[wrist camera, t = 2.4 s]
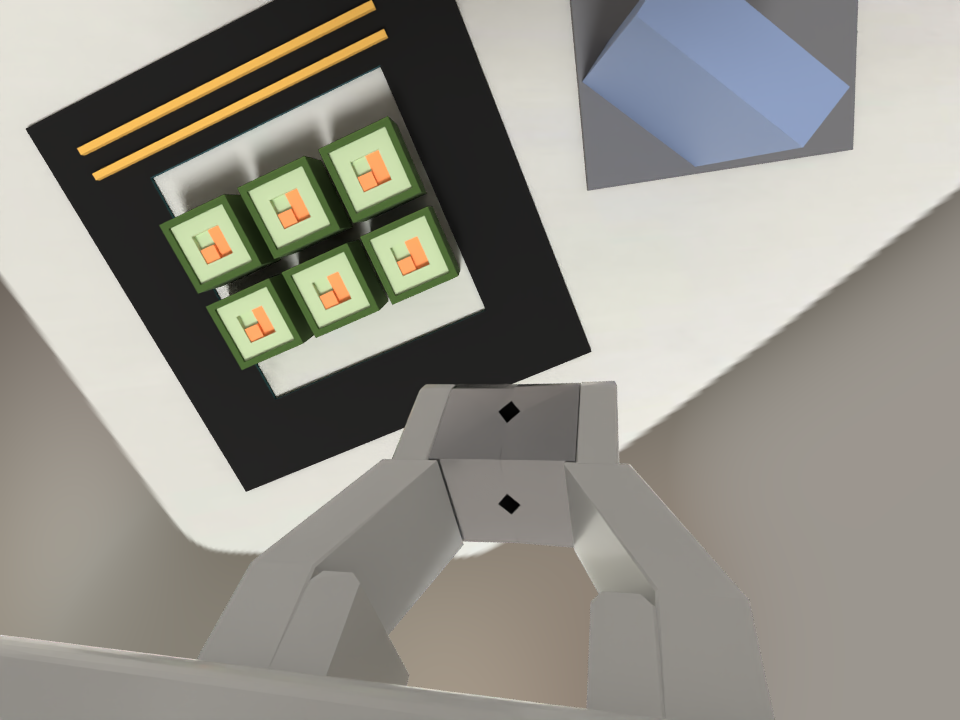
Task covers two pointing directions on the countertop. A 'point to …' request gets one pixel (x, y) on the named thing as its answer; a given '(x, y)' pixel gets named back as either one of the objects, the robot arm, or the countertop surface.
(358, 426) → the sushi
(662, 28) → the card deck
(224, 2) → the countertop surface
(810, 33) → the rubber mat
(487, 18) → the countertop surface
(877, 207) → the countertop surface
